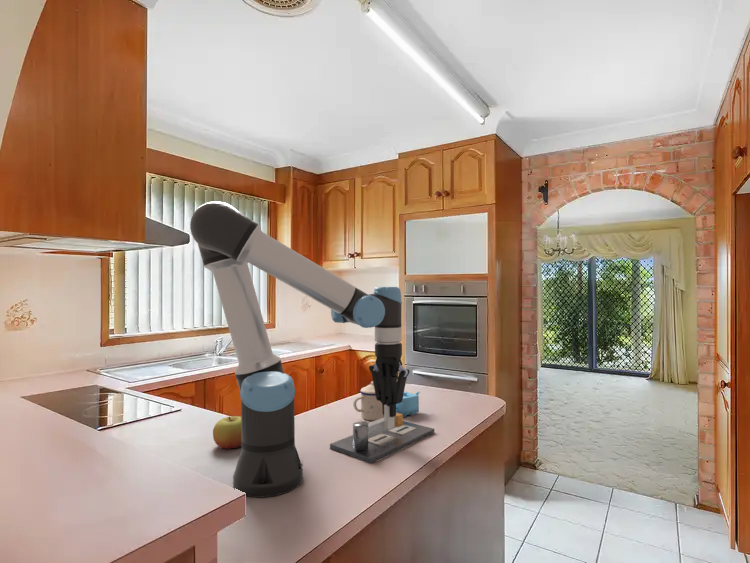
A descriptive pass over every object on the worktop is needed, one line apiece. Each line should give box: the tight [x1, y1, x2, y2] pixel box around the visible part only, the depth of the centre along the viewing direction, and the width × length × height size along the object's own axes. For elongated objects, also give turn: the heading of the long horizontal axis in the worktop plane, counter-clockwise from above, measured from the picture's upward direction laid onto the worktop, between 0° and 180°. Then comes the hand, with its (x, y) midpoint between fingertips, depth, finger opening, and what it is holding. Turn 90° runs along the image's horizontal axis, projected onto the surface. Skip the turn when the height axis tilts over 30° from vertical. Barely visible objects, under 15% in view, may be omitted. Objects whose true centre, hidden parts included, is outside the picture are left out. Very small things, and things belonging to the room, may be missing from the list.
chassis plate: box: [329, 420, 435, 464], centre depth 120 cm, size 28×15×2 cm, turn 139°
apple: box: [212, 415, 242, 450], centre depth 118 cm, size 10×10×8 cm
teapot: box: [396, 391, 421, 418], centre depth 145 cm, size 12×6×8 cm, turn 125°
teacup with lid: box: [352, 380, 384, 421], centre depth 141 cm, size 12×9×12 cm
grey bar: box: [352, 413, 404, 450], centre depth 117 cm, size 18×4×6 cm, turn 139°
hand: (389, 427), depth 118 cm, fingers closed
